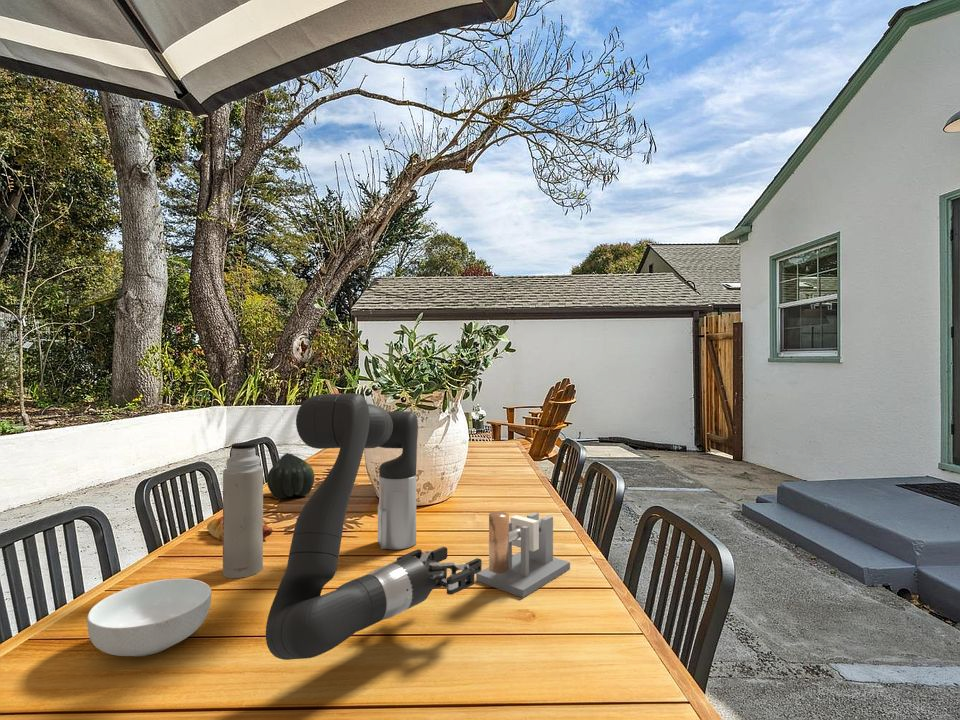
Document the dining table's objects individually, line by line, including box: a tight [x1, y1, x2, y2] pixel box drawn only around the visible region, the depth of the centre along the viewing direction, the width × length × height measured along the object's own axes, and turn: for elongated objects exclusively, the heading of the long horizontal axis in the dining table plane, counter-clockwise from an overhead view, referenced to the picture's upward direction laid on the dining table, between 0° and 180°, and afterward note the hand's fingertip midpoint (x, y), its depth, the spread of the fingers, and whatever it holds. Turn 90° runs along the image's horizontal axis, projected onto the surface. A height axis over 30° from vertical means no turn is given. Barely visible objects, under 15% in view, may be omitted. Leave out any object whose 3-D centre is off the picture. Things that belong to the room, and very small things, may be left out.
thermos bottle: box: [222, 441, 264, 579], centre depth 110 cm, size 8×8×28 cm
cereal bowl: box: [86, 578, 212, 657], centre depth 82 cm, size 17×17×7 cm
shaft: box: [488, 511, 545, 573], centre depth 108 cm, size 19×4×11 cm, turn 140°
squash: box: [266, 452, 315, 499], centre depth 172 cm, size 14×15×15 cm
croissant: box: [206, 515, 273, 541], centre depth 132 cm, size 21×10×8 cm, turn 72°
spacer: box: [510, 515, 539, 552], centre depth 109 cm, size 2×6×6 cm, turn 50°
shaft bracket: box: [475, 511, 571, 599], centre depth 109 cm, size 18×12×12 cm, turn 140°
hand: (462, 557), depth 93 cm, fingers open, 8 cm apart
